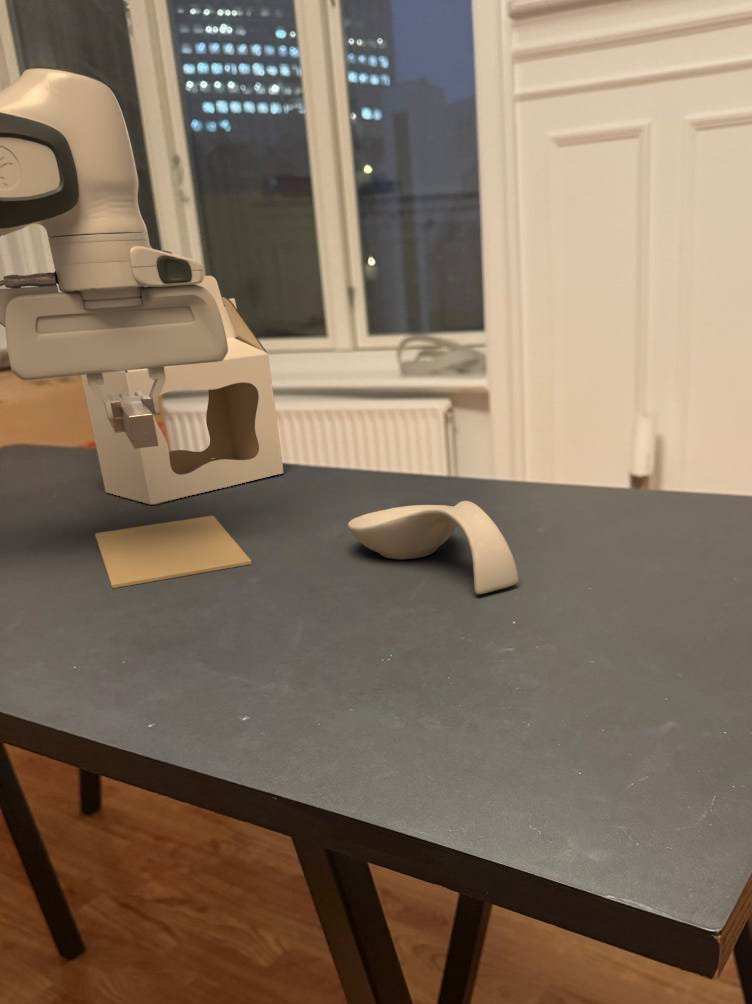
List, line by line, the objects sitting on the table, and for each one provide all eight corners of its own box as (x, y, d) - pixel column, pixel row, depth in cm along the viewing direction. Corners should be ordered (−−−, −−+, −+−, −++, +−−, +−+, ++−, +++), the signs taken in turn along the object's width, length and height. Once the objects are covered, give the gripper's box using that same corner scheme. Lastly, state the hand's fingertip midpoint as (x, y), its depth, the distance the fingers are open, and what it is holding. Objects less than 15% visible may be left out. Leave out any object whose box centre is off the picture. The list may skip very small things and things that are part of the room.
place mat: (252, 564, 97) (251, 560, 97) (112, 588, 92) (111, 584, 91) (213, 518, 115) (213, 515, 115) (95, 536, 110) (94, 533, 110)
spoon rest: (332, 550, 100) (325, 485, 98) (425, 529, 106) (420, 467, 103) (448, 608, 82) (443, 530, 79) (552, 579, 88) (550, 505, 85)
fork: (168, 444, 87) (162, 412, 86) (124, 450, 85) (117, 417, 84) (147, 418, 103) (141, 390, 102) (109, 422, 101) (103, 394, 100)
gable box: (236, 464, 146) (207, 275, 135) (286, 474, 138) (259, 273, 127) (103, 493, 131) (59, 284, 120) (150, 506, 123) (107, 282, 112)
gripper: (-17, 276, 81) (22, 434, 86) (218, 262, 88) (240, 409, 94) (-15, 276, 86) (22, 425, 91) (207, 263, 94) (229, 402, 99)
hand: (134, 417), depth 93 cm, fingers closed on fork, 2 cm apart
